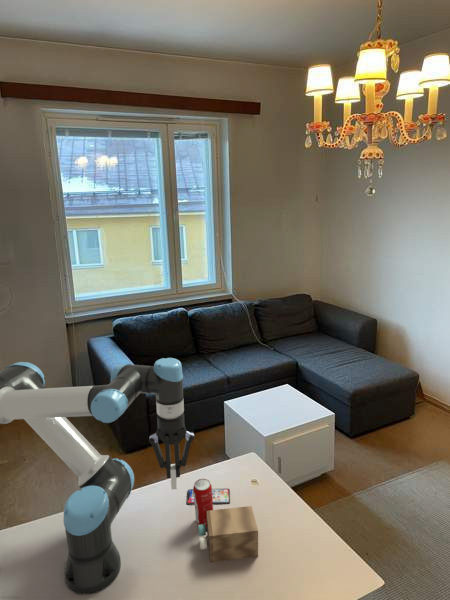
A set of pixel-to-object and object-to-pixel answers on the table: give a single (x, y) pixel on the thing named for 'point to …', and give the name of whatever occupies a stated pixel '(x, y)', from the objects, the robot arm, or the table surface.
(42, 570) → the table surface
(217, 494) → the smartphone
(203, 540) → the cream knob
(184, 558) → the table surface
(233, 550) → the console
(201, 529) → the teal knob
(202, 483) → the beverage can
